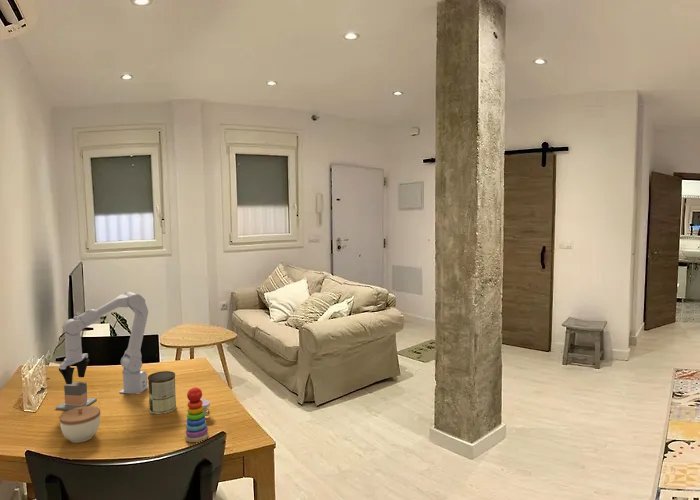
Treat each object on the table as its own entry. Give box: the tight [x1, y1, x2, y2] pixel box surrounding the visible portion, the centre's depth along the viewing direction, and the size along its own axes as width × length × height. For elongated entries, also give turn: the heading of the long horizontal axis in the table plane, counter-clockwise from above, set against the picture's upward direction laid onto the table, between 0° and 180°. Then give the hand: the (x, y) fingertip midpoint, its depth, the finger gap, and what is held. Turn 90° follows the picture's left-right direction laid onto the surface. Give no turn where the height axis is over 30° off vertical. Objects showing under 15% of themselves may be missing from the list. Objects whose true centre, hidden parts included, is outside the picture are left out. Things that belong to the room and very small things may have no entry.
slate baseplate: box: [55, 397, 98, 411], centre depth 196 cm, size 11×10×1 cm
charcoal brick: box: [63, 381, 88, 396], centre depth 195 cm, size 7×4×4 cm, turn 84°
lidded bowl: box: [59, 405, 101, 444], centre depth 168 cm, size 13×13×11 cm
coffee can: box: [147, 370, 177, 415], centre depth 192 cm, size 10×10×14 cm
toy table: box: [187, 397, 211, 417], centre depth 186 cm, size 10×9×6 cm
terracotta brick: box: [64, 391, 88, 405], centre depth 196 cm, size 7×4×4 cm, turn 84°
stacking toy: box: [184, 386, 209, 443], centre depth 167 cm, size 8×8×19 cm
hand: (75, 380), depth 195 cm, fingers open, 7 cm apart
